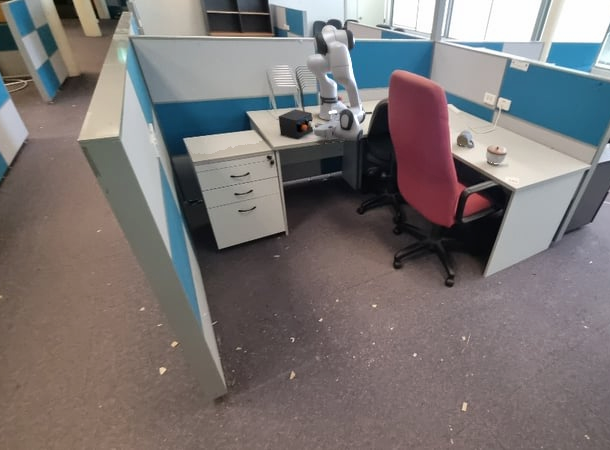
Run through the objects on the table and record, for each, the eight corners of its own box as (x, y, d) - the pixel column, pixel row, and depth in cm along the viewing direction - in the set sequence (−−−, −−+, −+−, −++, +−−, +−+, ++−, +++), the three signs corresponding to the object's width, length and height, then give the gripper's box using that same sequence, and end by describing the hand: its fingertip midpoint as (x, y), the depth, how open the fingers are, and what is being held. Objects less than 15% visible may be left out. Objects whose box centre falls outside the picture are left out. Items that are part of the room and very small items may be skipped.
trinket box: (485, 156, 190) (489, 141, 184) (504, 161, 187) (509, 145, 181) (482, 164, 182) (486, 148, 176) (502, 168, 179) (507, 152, 173)
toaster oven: (298, 126, 210) (297, 108, 203) (316, 130, 206) (315, 112, 199) (280, 135, 196) (278, 116, 189) (299, 139, 192) (297, 120, 185)
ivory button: (311, 125, 199) (311, 120, 197) (314, 126, 199) (313, 121, 197) (308, 127, 197) (308, 122, 195) (311, 127, 196) (310, 122, 194)
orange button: (304, 129, 194) (304, 123, 192) (307, 129, 194) (307, 124, 192) (301, 130, 192) (301, 125, 190) (304, 131, 191) (304, 126, 189)
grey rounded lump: (454, 144, 201) (457, 132, 196) (459, 140, 207) (461, 129, 202) (471, 149, 197) (474, 137, 193) (475, 145, 203) (478, 133, 199)
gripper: (344, 119, 198) (325, 115, 202) (327, 129, 183) (306, 125, 187) (345, 129, 202) (325, 125, 206) (327, 140, 186) (306, 135, 190)
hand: (316, 125), depth 196 cm, fingers closed
